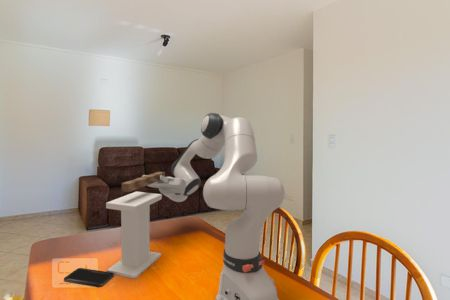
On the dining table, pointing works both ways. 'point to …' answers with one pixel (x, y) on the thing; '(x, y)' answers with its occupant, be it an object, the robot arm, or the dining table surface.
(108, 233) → the dining table surface
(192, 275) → the dining table surface
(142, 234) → the pedestal
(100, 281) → the phone
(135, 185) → the walnut bar
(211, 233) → the dining table surface
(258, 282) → the robot arm
